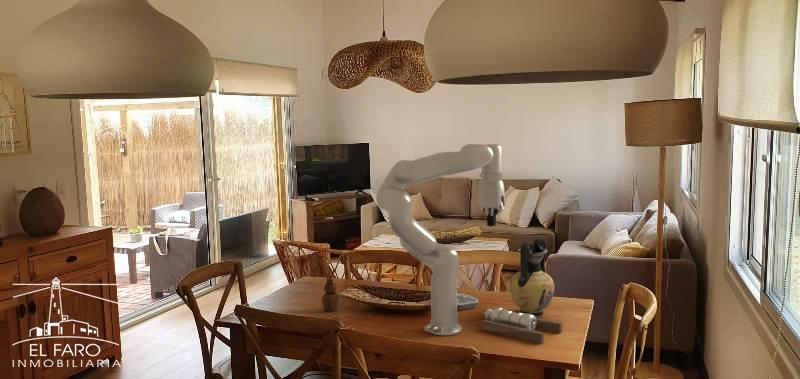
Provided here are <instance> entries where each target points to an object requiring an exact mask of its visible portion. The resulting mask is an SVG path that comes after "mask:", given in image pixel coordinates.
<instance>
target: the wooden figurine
mask: <svg viewBox="0 0 800 379" xmlns="http://www.w3.org/2000/svg"><path fill="white" fill-rule="evenodd" d="M323 291H324V292H325V293H324V294H323V295H322V298H321V304H322V307H323V309H324V311H325V312H329V313H330V312H335V311H337V310H338V307H339V304H340V297H339V296H340V295H339V294H338V293H337V292H336V291H337V285H336V284H335V283H334V281H333V279H332V278H331V276H330V275H326V283H325V285H324V288H323Z"/></svg>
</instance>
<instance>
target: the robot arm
mask: <svg viewBox="0 0 800 379" xmlns="http://www.w3.org/2000/svg"><path fill="white" fill-rule="evenodd" d="M502 148H503V146H501V145H500V144H497V143H486V144H481V143H469V144H465V145H464V146H462V147H461V148H460V150H458V151H443V152H442V151H441V152H437V153H433V154H431V155H427V156H424V157H419V158H417V159H414V160H413V159H412V160H409V159H402V160H399V161H397V162H396V163H395V164H394V165H393V167H391V169H390V170H389V173H387V175H386V177H385V179H384V180H383V181H382V184H381V185H380V186H379V189H378V190H377V193H376V195H375V196H376V197H375V200H376V205H377V206H378V207H379V208H380V209H382V210H383V211H384V210H385V211H387V212H389V214H388V220H389V221H388V222H389V226H390V229H391V230H392V232H393V233H394V235H396V236H397V237H398V238H399V241H400V243H399V244H400V245H401V247H402V248H403V249H404V250H405V251H406V252H408V254H410V255H411V256H412V257H413V258H414V259H416V260H418V261H419V262H420V263H422V264H423V265H424V266H427V267H428V268H431V269H432V270H433V271H432V275H431V279H430V310H431V312H430V313H431V315H430V317H431V318H430V320H429V323H428V324H427V325H424V327H423V329H424V331H426V332H428V333H430V334H432V335H436V336H452V335H456V334H457V335H458V334H459V333H461V332H462V326H461V325H460V324H459V323H458V310H457V294H458V271H459V270H458V269H459V265H460V257H459V254H458V252H457V251H456V250H455V249H454V248H453V247H452V246H448V245H447V244H443V243H439V242H437V239H436V236H435V235H434V234H433V233H432V232H431V231H430V230H428V229H427V227H425V226H424V225H422V224H421V223H420V222H418V221H417V220H416V219H415V218H414V217H413V215H412V197H411V196H410V194H409V193H408V192H407V191H406V190H405V189H406V187H407V185H409V186H410V185H411V186H412V185H413V186H414V185H419V184H420V185H421V184H423V183H425V182H429V181H432V180H435V179H439V178H442V177H446V176H450V175H451V176H452V175H455V174H459V173H465V172H470V171H473V170H476V169H480V168H481V172H480V173H479V177H480V180H479V182H478V187H477V197H476V198H477V200H476V205H477V206H478V208H479V210H481V211H483V212H484V214H485V216H486V226H487V227H496V224H497V215H498V214H499V213H500V212H504V211H505V205H506V194H505V193H506V192H505V185H504V181H503V180H502V179H503V178H502V177H503V176H502V175H503V174H502V173H503V172H502V171H503V170H502V169H503V164H502V163H503V160H502V159H503V158H502V157H503V153H502V152H503V149H502Z"/></svg>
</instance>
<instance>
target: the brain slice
mask: <svg viewBox="0 0 800 379" xmlns="http://www.w3.org/2000/svg"><path fill="white" fill-rule="evenodd" d="M479 302H480V301H479V298H478V297H476V296H472V295H470V294H469V295H468V294H464V293H457V311H465V310H472V309H474V308H476V307H477V306H478V304H479Z"/></svg>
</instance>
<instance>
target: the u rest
mask: <svg viewBox="0 0 800 379" xmlns="http://www.w3.org/2000/svg"><path fill="white" fill-rule="evenodd" d="M536 320H537V324H536V328H535V330H530V329H525V328H520V327H516V326H511V325H507V324H502V323H498V322H493V321H492V320H490V319H484V320H481V330H482V332H488V333H491V334H492V333H493V334H495V335H501V336H505V337H508V338H513V339H518V340H521V339H522V341H526V342H529V343H534V344H540V345H541V344H544V343H545V332H542V331H546V332H549V333H550V332H551V333H554V334H559V335H560V334H561V333H563V322H561V321H555V320H552V319H551V320H550V319H545V318H541V317H537V318H536ZM538 330H539V331H538ZM540 330H541V331H540Z"/></svg>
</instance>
